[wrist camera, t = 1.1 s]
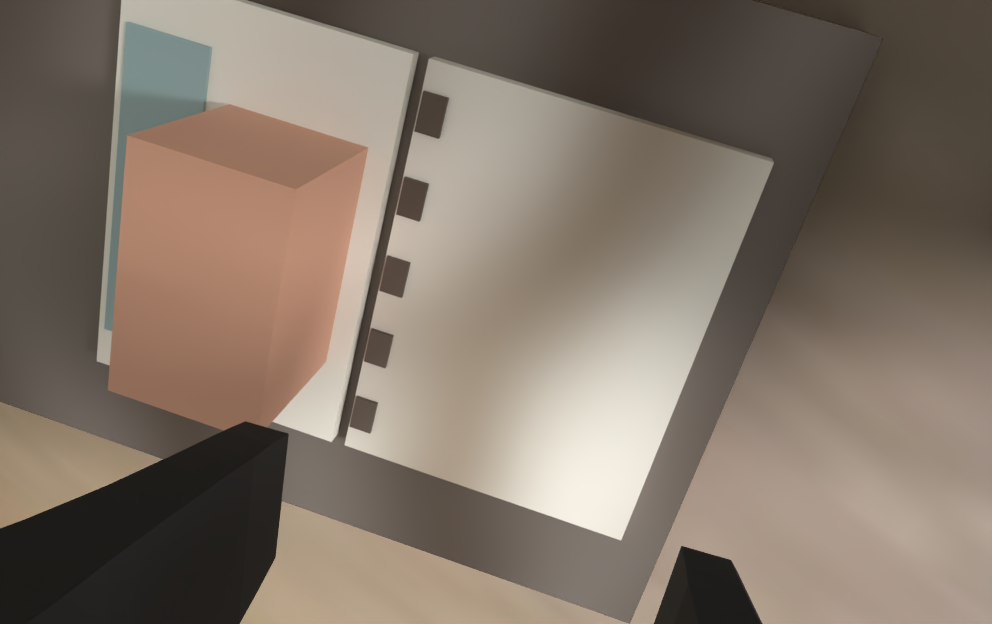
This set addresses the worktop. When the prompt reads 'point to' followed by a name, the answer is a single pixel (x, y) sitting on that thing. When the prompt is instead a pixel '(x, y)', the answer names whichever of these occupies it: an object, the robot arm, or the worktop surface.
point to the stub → (244, 209)
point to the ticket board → (482, 263)
